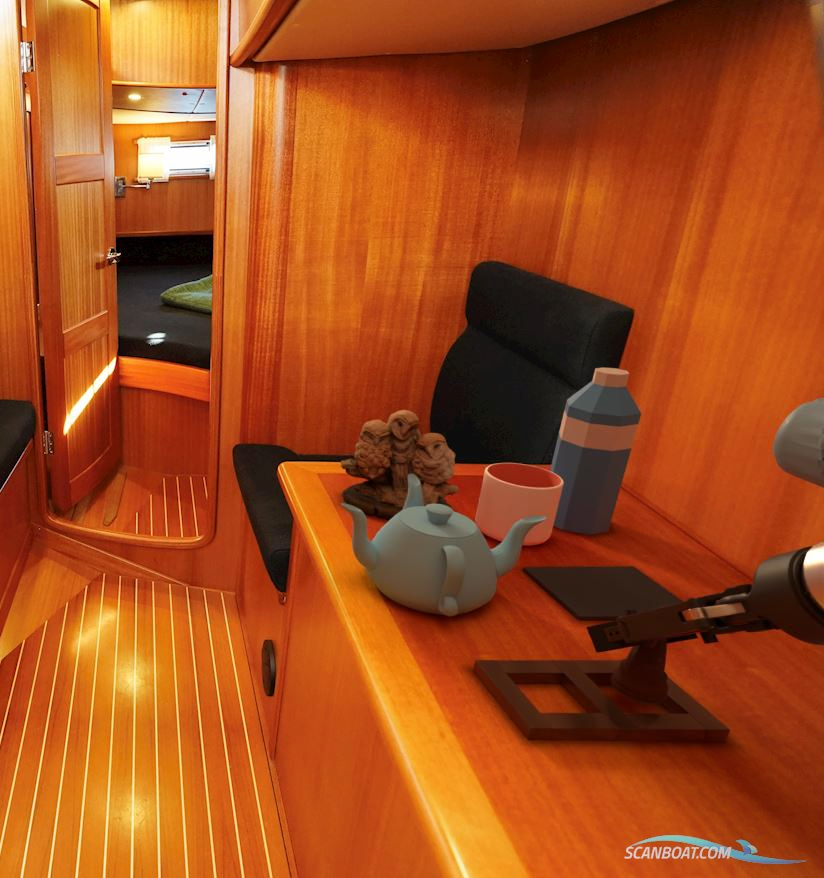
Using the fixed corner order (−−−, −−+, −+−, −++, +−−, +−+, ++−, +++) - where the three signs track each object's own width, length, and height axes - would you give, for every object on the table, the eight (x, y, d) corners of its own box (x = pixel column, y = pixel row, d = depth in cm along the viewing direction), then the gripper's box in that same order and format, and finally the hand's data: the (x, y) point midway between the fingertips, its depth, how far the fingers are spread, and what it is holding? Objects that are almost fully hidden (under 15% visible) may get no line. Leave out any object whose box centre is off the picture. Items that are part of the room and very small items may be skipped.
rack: (645, 671, 79) (648, 660, 79) (726, 741, 69) (730, 729, 69) (472, 670, 80) (474, 659, 80) (527, 739, 70) (530, 728, 70)
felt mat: (632, 569, 99) (633, 566, 98) (703, 620, 87) (704, 616, 87) (522, 570, 99) (523, 566, 99) (578, 620, 88) (579, 616, 88)
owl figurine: (335, 513, 118) (347, 418, 112) (336, 486, 128) (347, 397, 122) (457, 529, 111) (476, 428, 105) (447, 499, 122) (464, 405, 116)
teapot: (395, 542, 108) (406, 469, 104) (529, 594, 94) (549, 512, 90) (330, 579, 99) (339, 501, 95) (467, 643, 85) (486, 555, 80)
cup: (459, 527, 112) (470, 469, 109) (501, 514, 116) (513, 458, 112) (520, 555, 103) (534, 493, 100) (564, 540, 107) (579, 480, 103)
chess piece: (605, 690, 74) (628, 609, 70) (616, 667, 77) (638, 589, 74) (662, 711, 71) (688, 628, 67) (670, 686, 74) (696, 606, 70)
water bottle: (527, 507, 118) (560, 363, 109) (588, 509, 116) (626, 363, 108) (557, 533, 109) (596, 379, 100) (623, 535, 108) (668, 379, 99)
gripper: (770, 649, 53) (554, 681, 74) (976, 628, 54) (705, 665, 75) (721, 552, 56) (527, 609, 77) (916, 535, 57) (672, 596, 78)
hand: (615, 637), depth 76 cm, fingers closed on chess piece, 4 cm apart
